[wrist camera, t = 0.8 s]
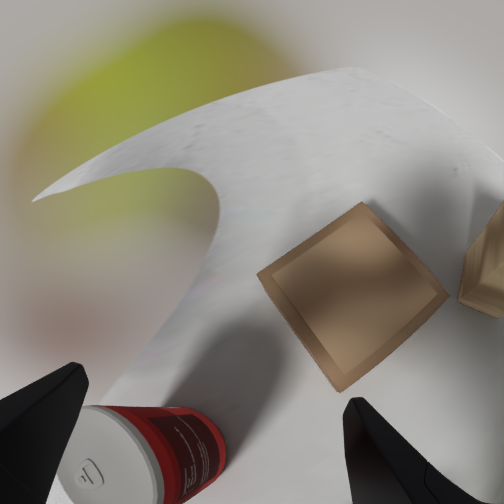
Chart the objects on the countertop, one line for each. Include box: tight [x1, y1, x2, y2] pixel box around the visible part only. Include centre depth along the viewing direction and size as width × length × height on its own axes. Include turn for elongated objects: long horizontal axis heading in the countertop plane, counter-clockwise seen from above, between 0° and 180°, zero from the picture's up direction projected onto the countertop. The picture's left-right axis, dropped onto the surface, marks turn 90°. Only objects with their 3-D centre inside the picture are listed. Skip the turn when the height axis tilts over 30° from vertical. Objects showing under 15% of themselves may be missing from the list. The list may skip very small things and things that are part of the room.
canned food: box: [56, 405, 226, 504], centre depth 14 cm, size 8×8×11 cm
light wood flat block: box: [257, 202, 450, 393], centre depth 20 cm, size 10×10×4 cm
